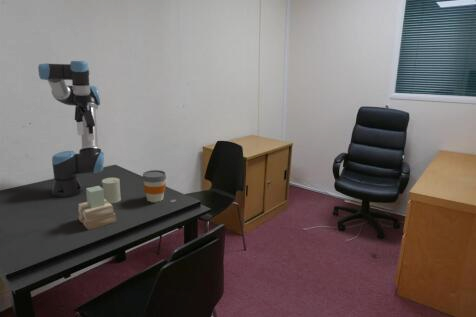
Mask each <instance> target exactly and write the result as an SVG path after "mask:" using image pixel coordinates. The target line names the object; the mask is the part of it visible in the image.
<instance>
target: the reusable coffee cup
mask: <svg viewBox="0 0 476 317" xmlns="http://www.w3.org/2000/svg"><path fill="white" fill-rule="evenodd" d="M166 180H167V174H166V172H165V171H163V170H158V169H153V170H146V171H145V172H143V173H142V181H143V190H144V193H145V196H146V201H147V202H149V201H150V202H149V203H159V202H158V201H160V202H161V200H162V201H163V200H164V197H165V196H164V195H165V192H166V183H167V182H166Z"/></svg>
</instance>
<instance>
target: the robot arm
mask: <svg viewBox="0 0 476 317" xmlns="http://www.w3.org/2000/svg"><path fill="white" fill-rule="evenodd" d="M37 69H38V75H39V78H40V80H43V81H47V82H48V84H49V86H50V88H51V94H52V96H53V98H54V99H55V100H56V101H58V102H59V103H61V104H63V105H67V106H75V108H74V121H75V122H76V130H77V136H81V148H80V149H79V150H78V151H79V152H78V153H76V152H75V151H74V150H66V151H60V152H57V153H55V154H54V155H52V157H51V161H52V162H51V164H52V171H53V172H52V173H53V178H54V180H53V181H54V182H53V185H52V190H51V192H52V195H53V196H54V197H56V198H57V197H58V198H59V197H60V198H64V197H65V198H67V197H72V196H76V195H79V194H80V193H82V191H83V190H82V184H81V183H80V180H79V178H78V175H83V174H84V175H85V174H95V173H96V174H97V173H101V172H102V171H103V170H104V162H105V161H104V159H105V152H103V151H102V149H101V148H100V147H99V142H98V128H97V127H98V126H97V113H96V110H98V109H99V106H101V99H100V94H99V91H98V87H97V86H95V85H90V76H89V75H90V70H89V64H88V62H87V60H86V61H85V60H71V61H70V63H40V64H38V68H37ZM66 81H71V82H72V85H67V84H66Z"/></svg>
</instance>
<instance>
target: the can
mask: <svg viewBox="0 0 476 317" xmlns="http://www.w3.org/2000/svg"><path fill="white" fill-rule="evenodd" d="M120 183H121V182H120V178H118V177H106V178H103V179H101V184H102V187H101V188H102V189H103V190H104V199H105V200H107V201H108V202H109V203H110V204H116V203H119V202H121V200H122V197H121V184H120Z"/></svg>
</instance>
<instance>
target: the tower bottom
mask: <svg viewBox="0 0 476 317" xmlns="http://www.w3.org/2000/svg"><path fill="white" fill-rule="evenodd" d="M113 213H114V214H113V215H110V216H106V217H102V218H99V219H95V220H91V221H87V220H86V219H85V218H84V217H83V216H82V215H81V214H80V213H79V211H78V213H77V214H78V220H79V221H80V222H81V223H83V224H82V225H83V226H84V227H85V228H86V229H87V230H88V231H90V229H91V230H94V229H98V228H101V227H105V226H107V224H108V225H111V224H110V223H112V224H115V223H117V214H116V213H115V212H114V211H113ZM114 222H115V223H114ZM104 225H105V226H104ZM100 226H101V227H100ZM97 227H98V228H97ZM93 228H94V229H93Z"/></svg>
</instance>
